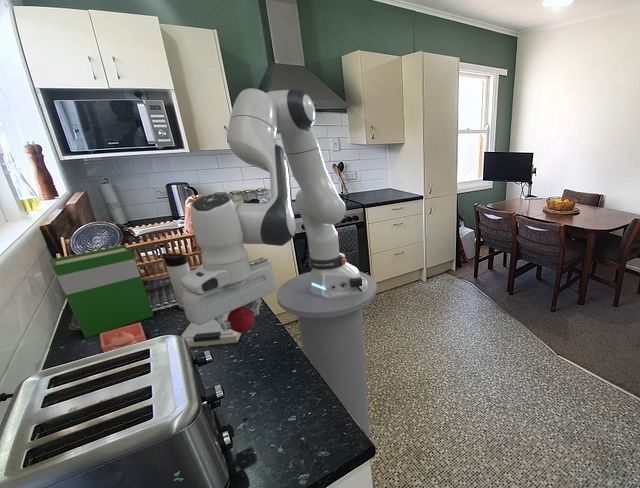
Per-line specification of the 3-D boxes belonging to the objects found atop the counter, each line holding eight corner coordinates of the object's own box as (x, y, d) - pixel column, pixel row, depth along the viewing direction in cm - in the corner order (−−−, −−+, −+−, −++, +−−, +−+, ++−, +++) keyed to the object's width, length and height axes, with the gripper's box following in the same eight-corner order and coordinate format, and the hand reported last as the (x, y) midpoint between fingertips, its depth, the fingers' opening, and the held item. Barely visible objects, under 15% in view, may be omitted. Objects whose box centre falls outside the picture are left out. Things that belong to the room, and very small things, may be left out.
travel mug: (173, 308, 123) (157, 256, 115) (190, 300, 129) (176, 250, 121) (187, 311, 122) (171, 259, 113) (203, 303, 127) (189, 252, 119)
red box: (104, 345, 103) (92, 317, 99) (144, 333, 109) (134, 306, 105) (109, 376, 91) (96, 345, 87) (153, 361, 97) (142, 331, 93)
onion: (257, 324, 88) (251, 296, 84) (257, 336, 83) (250, 307, 80) (231, 329, 86) (224, 301, 82) (229, 342, 81) (221, 312, 78)
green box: (147, 308, 123) (125, 244, 113) (154, 315, 119) (131, 250, 109) (80, 329, 110) (49, 259, 101) (85, 338, 106) (53, 266, 96)
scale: (250, 315, 120) (248, 307, 119) (237, 342, 106) (235, 334, 105) (199, 319, 117) (196, 312, 116) (178, 348, 103) (175, 339, 101)
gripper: (261, 252, 87) (270, 300, 93) (171, 282, 71) (190, 338, 77) (277, 257, 84) (286, 307, 90) (187, 290, 68) (205, 348, 74)
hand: (241, 321), depth 83 cm, fingers closed on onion, 6 cm apart
